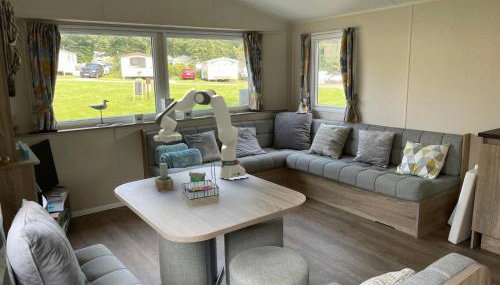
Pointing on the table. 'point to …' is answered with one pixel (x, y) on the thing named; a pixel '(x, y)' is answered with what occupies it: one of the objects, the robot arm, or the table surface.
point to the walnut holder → (164, 184)
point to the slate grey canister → (163, 171)
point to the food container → (197, 177)
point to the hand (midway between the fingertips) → (169, 139)
